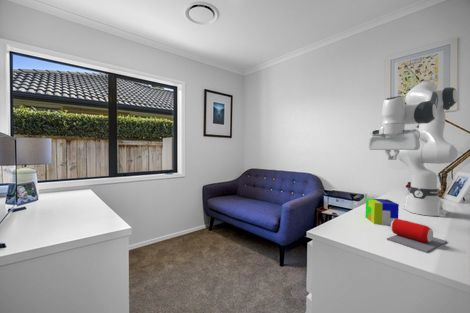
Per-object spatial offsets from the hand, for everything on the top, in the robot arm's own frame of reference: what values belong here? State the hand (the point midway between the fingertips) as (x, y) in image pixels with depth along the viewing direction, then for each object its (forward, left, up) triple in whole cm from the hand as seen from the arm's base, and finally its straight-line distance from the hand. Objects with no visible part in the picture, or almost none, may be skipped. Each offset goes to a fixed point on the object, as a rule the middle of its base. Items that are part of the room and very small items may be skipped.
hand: (392, 159), depth 101 cm
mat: (+15, +16, -30) cm, 37 cm away
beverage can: (+15, +8, -27) cm, 32 cm away
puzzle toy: (+2, -3, -31) cm, 31 cm away
